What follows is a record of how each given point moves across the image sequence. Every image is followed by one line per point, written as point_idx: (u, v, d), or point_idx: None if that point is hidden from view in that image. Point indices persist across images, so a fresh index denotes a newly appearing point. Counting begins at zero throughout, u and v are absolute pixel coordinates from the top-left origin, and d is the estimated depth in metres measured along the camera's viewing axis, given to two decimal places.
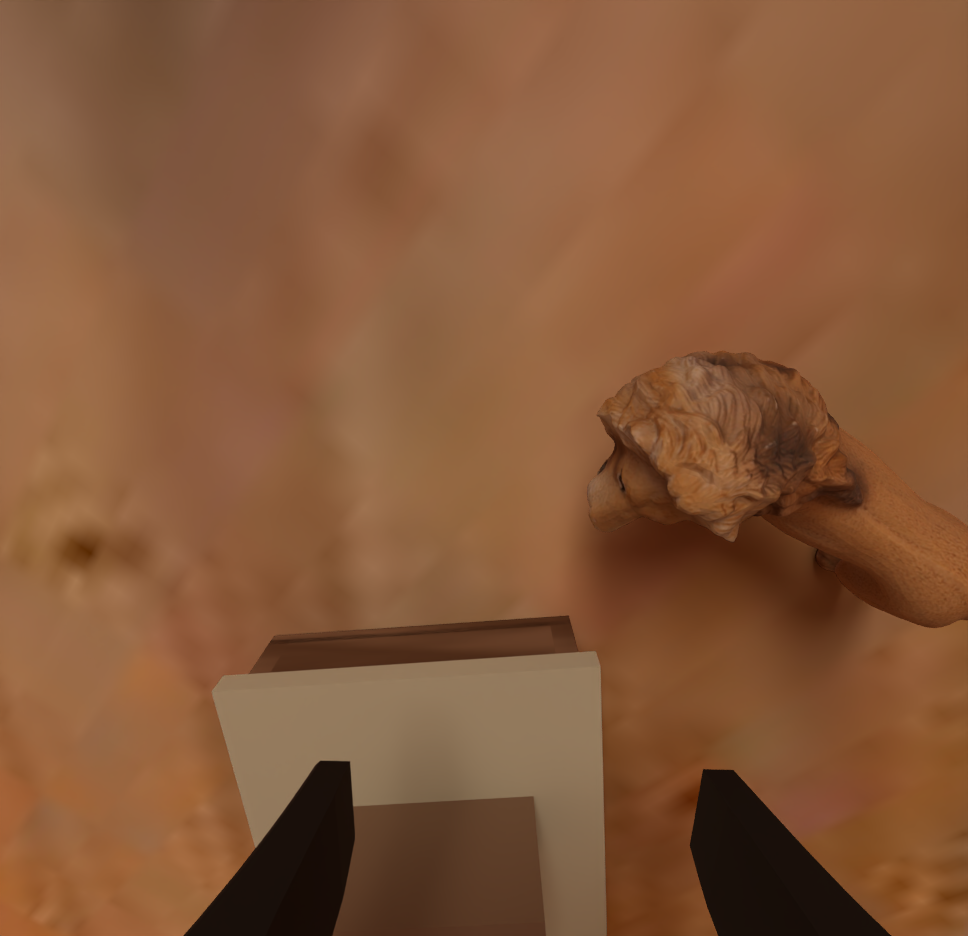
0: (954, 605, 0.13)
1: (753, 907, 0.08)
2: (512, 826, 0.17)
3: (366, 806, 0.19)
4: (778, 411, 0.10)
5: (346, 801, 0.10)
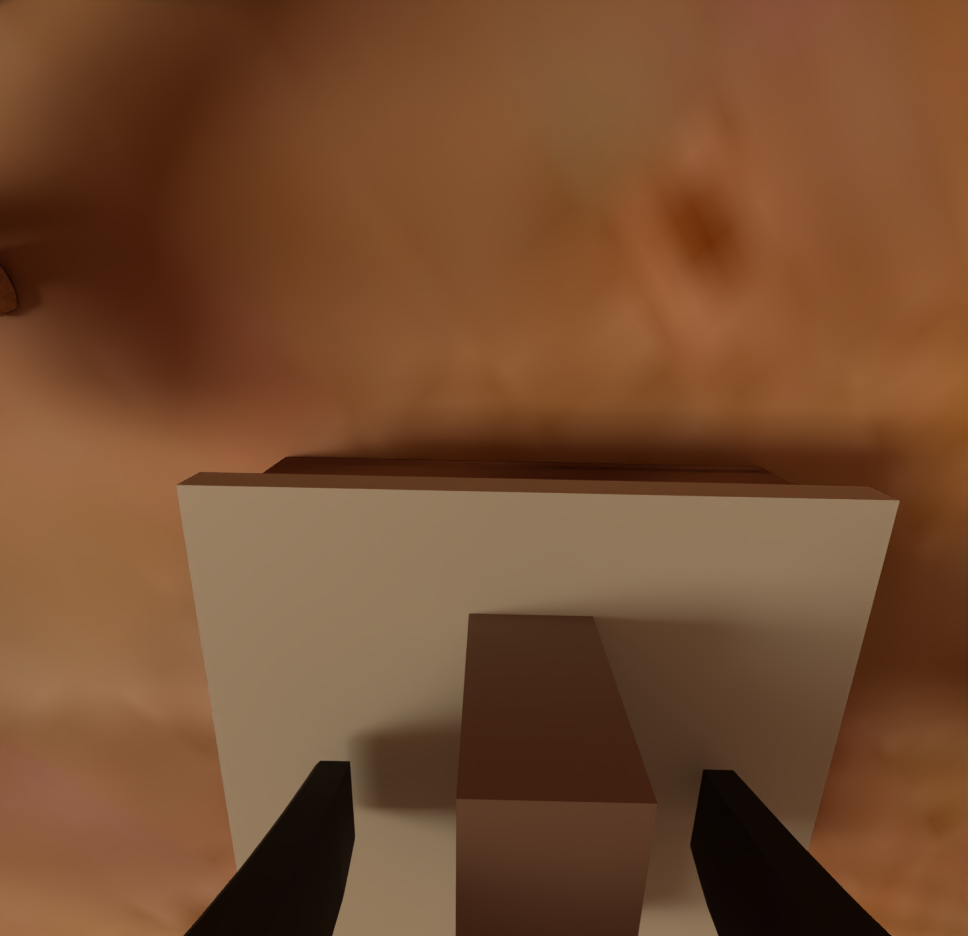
0: None
1: (753, 907, 0.08)
2: None
3: None
4: None
5: (346, 801, 0.10)
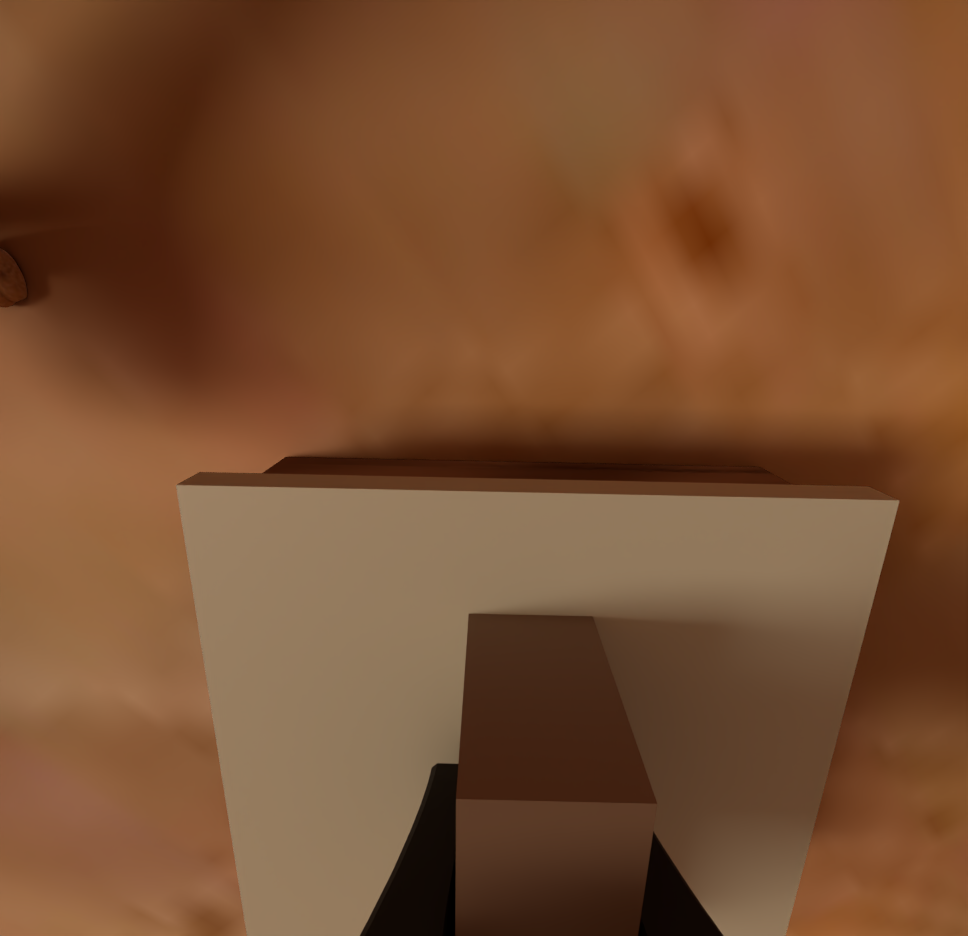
0: None
1: None
2: None
3: None
4: None
5: None
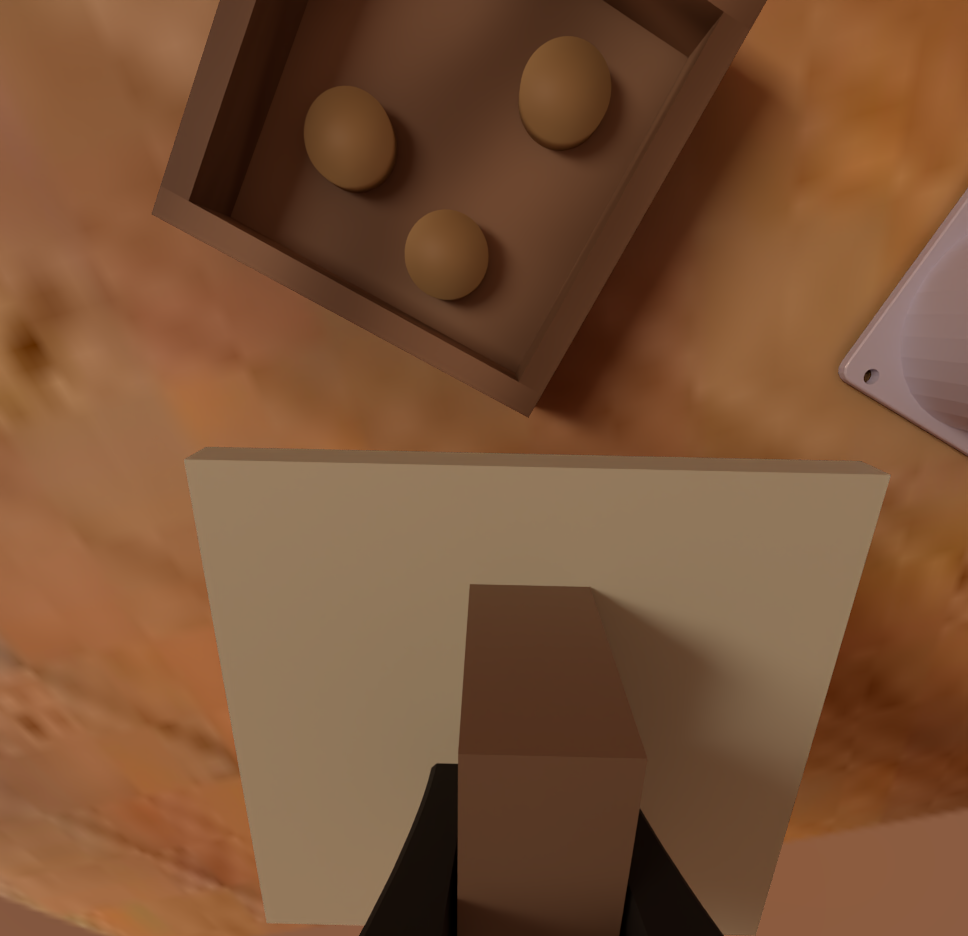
0: None
1: None
2: None
3: None
4: None
5: None
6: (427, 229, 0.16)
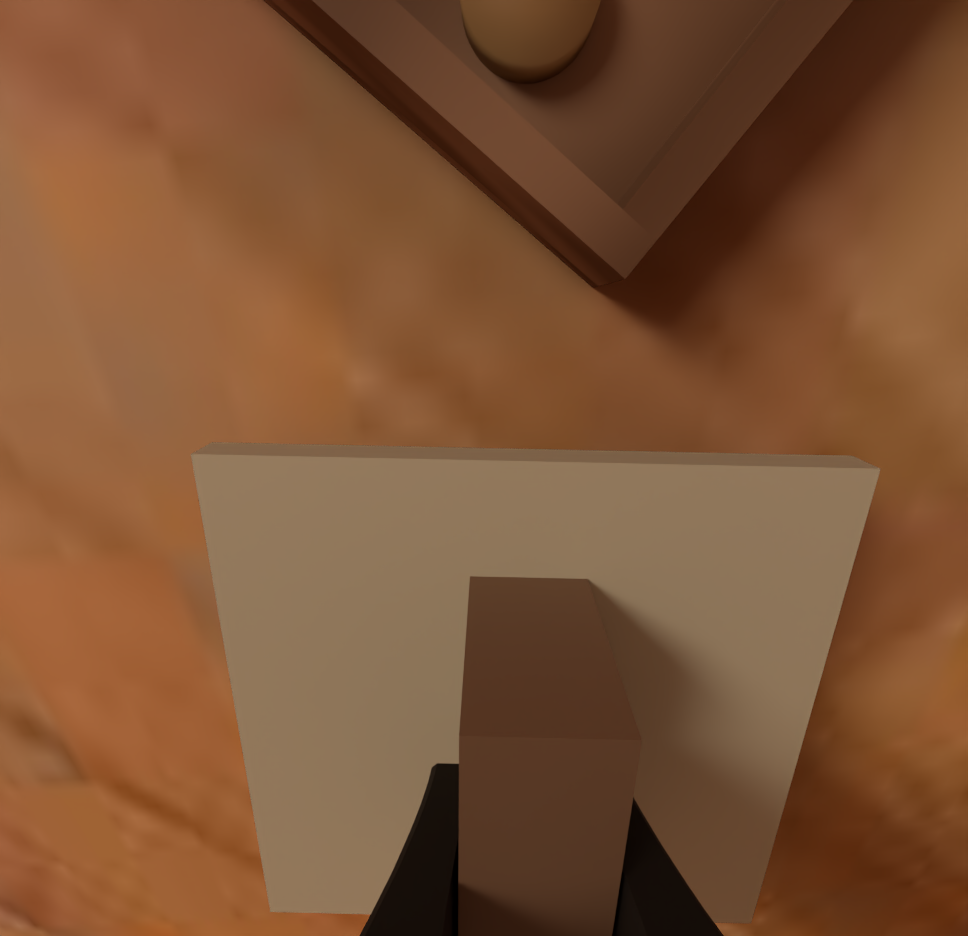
0: None
1: None
2: None
3: None
4: None
5: None
6: None
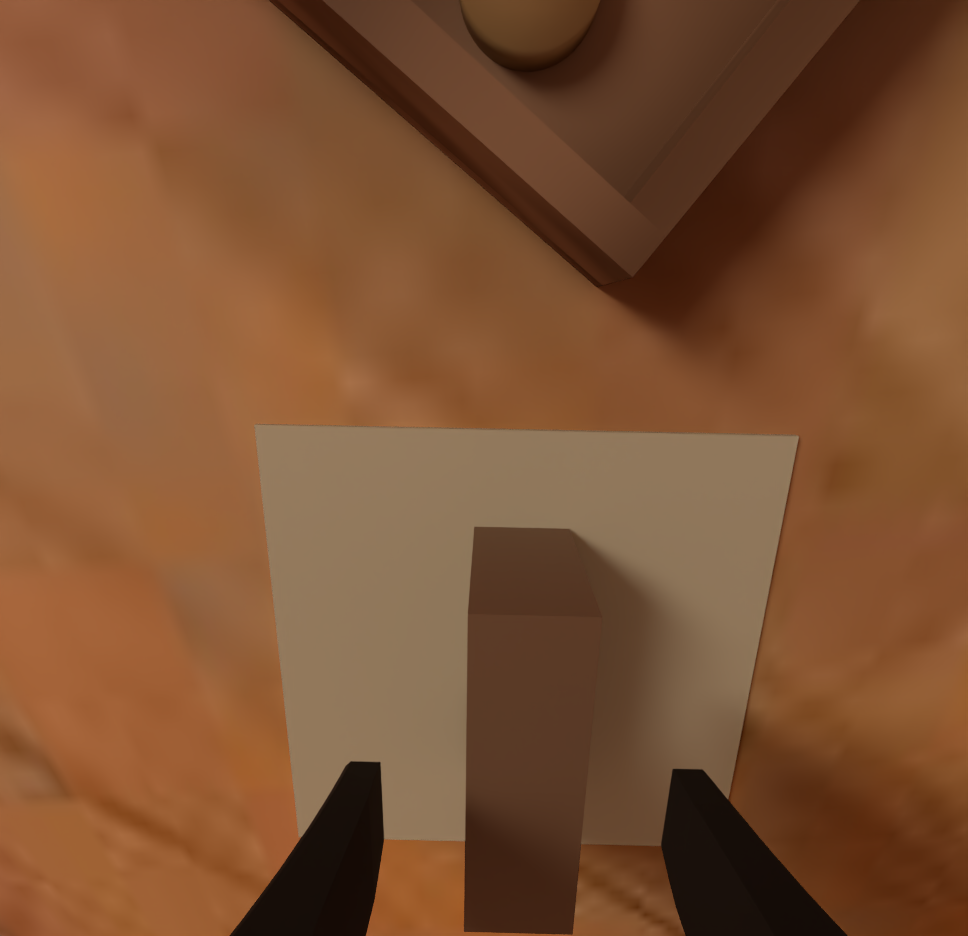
0: None
1: (716, 906, 0.08)
2: None
3: None
4: None
5: (377, 801, 0.10)
6: None
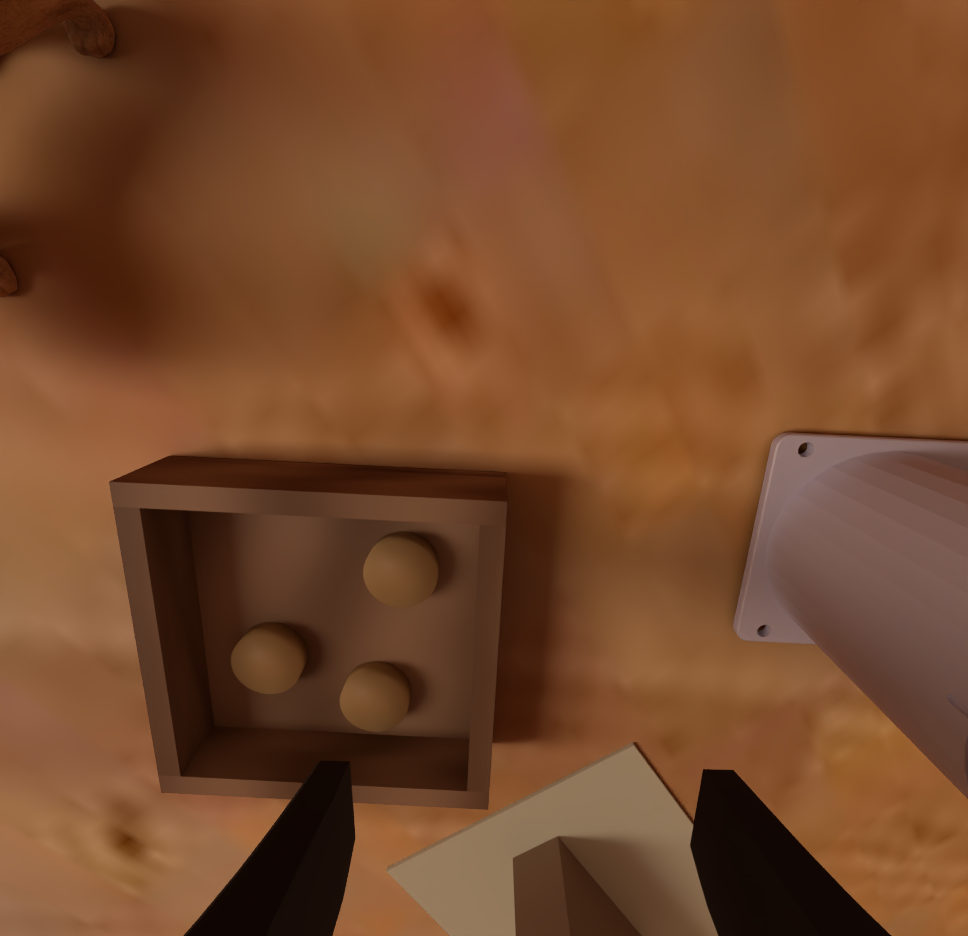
0: None
1: (753, 907, 0.08)
2: None
3: None
4: None
5: (346, 801, 0.10)
6: (351, 693, 0.20)
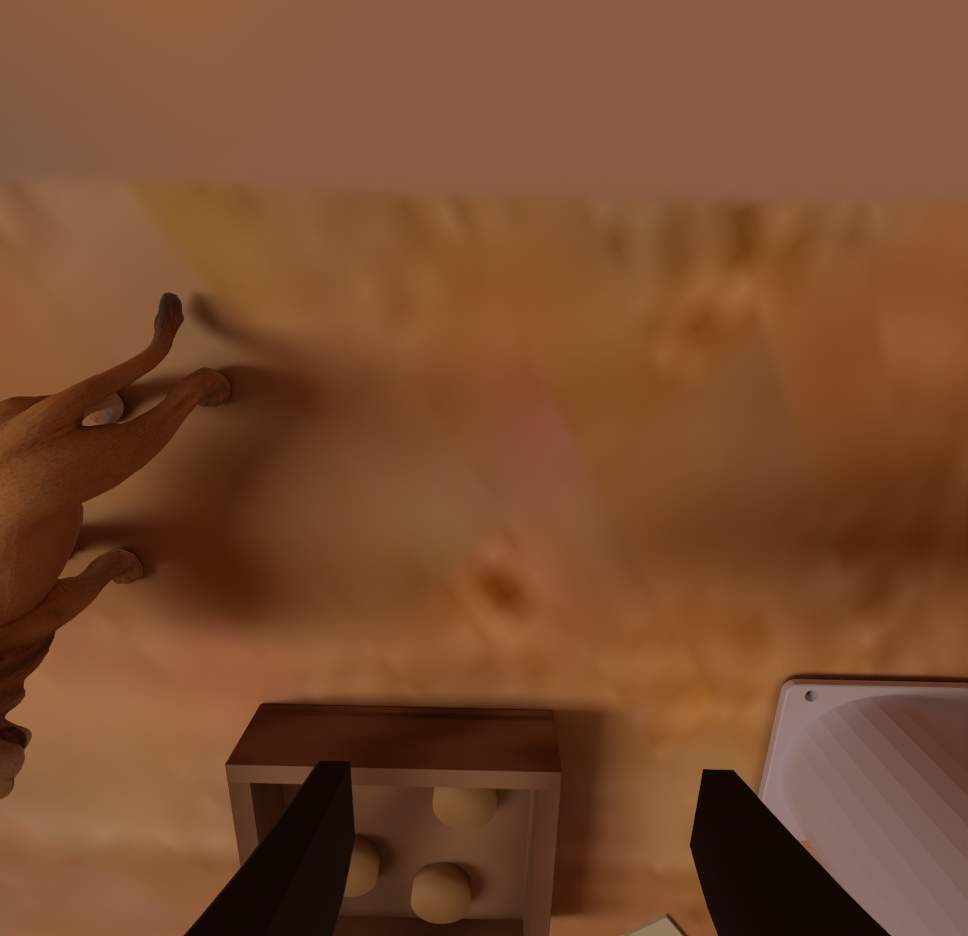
0: None
1: (753, 907, 0.08)
2: None
3: None
4: None
5: (346, 801, 0.10)
6: (420, 895, 0.22)
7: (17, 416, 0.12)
